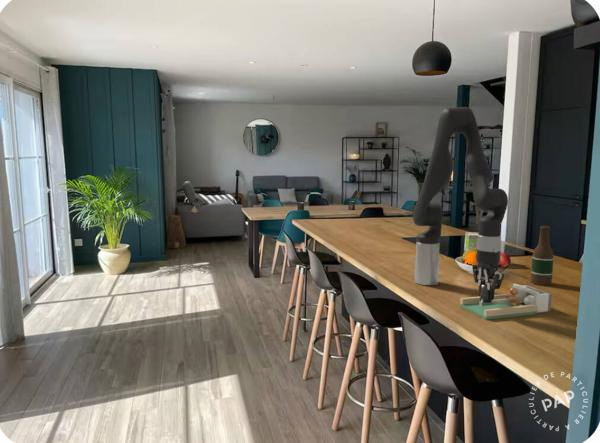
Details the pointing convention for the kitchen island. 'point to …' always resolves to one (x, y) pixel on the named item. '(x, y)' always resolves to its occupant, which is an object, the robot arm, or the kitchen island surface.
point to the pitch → (496, 308)
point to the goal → (535, 296)
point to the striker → (510, 299)
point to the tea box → (470, 240)
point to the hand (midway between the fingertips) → (486, 298)
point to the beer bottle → (542, 260)
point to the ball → (529, 300)
